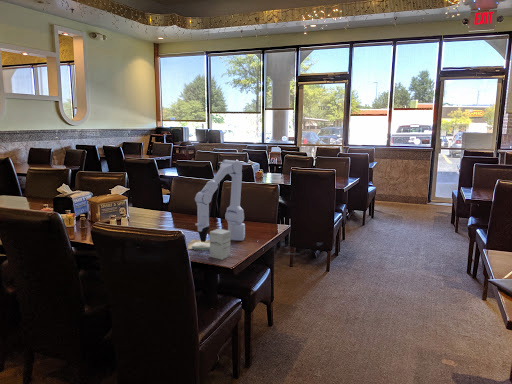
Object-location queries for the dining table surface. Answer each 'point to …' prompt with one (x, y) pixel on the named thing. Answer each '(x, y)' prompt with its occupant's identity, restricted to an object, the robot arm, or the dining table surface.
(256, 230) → the dining table surface
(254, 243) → the dining table surface
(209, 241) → the mat
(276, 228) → the dining table surface
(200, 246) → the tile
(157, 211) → the dining table surface
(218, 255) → the supplement box
